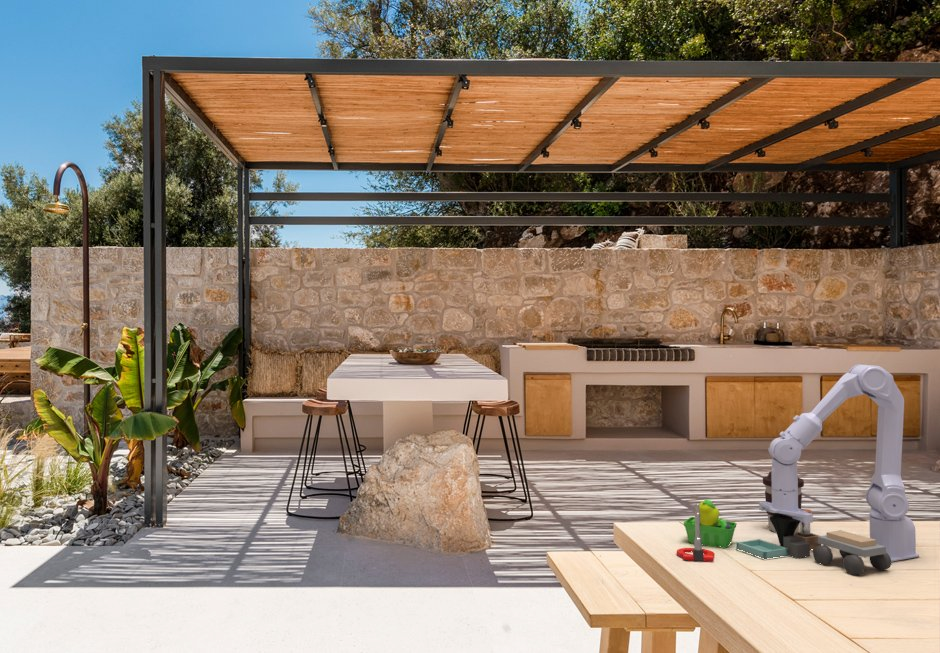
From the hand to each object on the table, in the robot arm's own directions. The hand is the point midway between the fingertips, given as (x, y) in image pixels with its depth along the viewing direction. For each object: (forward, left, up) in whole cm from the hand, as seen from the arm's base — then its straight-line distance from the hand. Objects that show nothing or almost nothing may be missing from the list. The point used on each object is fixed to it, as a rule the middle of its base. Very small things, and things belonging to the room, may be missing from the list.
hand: (785, 547), depth 178 cm
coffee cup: (-15, -15, -1) cm, 21 cm away
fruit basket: (+11, -13, -1) cm, 17 cm away
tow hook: (+21, -6, -1) cm, 22 cm away
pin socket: (-7, -1, -1) cm, 7 cm away
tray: (+6, -1, -1) cm, 6 cm away
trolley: (-4, +15, -1) cm, 15 cm away
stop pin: (-7, -1, -1) cm, 7 cm away
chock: (0, +3, -1) cm, 4 cm away
